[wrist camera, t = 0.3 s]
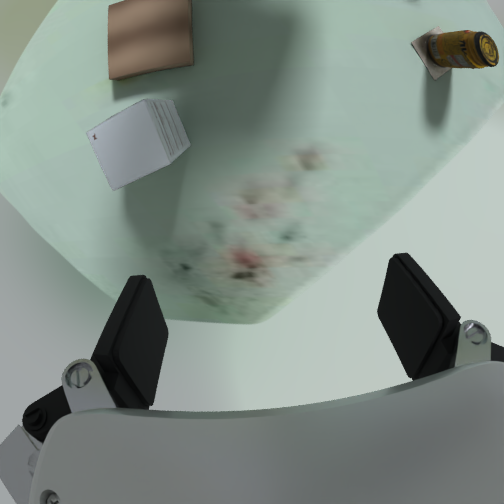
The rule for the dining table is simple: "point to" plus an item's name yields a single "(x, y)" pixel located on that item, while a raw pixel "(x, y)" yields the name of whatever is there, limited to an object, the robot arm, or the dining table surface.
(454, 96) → the dining table surface
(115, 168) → the supplement box
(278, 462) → the robot arm
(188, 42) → the walnut base
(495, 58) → the condiment
